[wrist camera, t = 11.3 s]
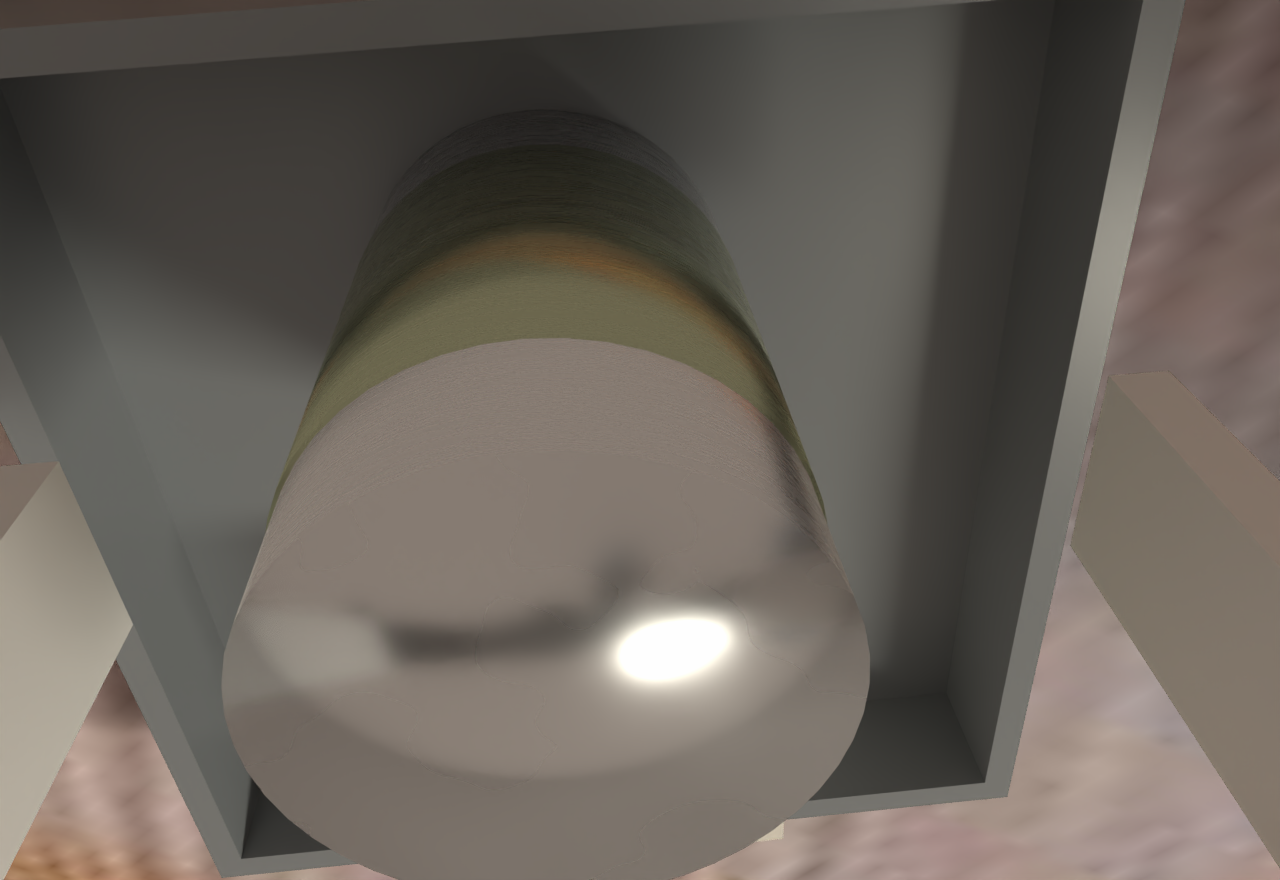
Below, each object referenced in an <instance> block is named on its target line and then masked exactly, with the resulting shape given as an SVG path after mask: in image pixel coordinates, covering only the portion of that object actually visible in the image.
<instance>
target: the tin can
mask: <svg viewBox="0 0 1280 880" xmlns="http://www.w3.org/2000/svg"><path fill="white" fill-rule="evenodd" d="M869 685H870V652H869V646H868V640H867V635H866V629H865V625H864V622H863V619H862V617H861V614H860V611H859V609H858V606H857V603H856V601H855V598H854V595H853V592H852V590H851V587H850V584H849V582H848V579H847V576H846V574H845V571H844V568H843V566H842V563H841V560H840V557H839V555H838V552H837V549H836V547H835V544H834V541H833V539H832V536H831V533H830V531H829V528H828V524H827V519H826V513H825V508H824V502H823V499H822V496H821V493H820V491H819V488H818V485H817V483H816V480H815V477H814V474H813V472H812V469H811V466H810V464H809V461H808V459H807V456H806V453H805V451H804V448H803V445H802V443H801V440H800V437H799V435H798V432H797V429H796V427H795V424H794V421H793V419H792V416H791V414H790V411H789V408H788V406H787V403H786V400H785V398H784V395H783V392H782V390H781V387H780V384H779V382H778V379H777V377H776V374H775V371H774V369H773V366H772V363H771V361H770V358H769V355H768V353H767V350H766V347H765V345H764V342H763V339H762V337H761V334H760V332H759V329H758V326H757V324H756V321H755V318H754V316H753V313H752V310H751V308H750V305H749V302H748V300H747V297H746V294H745V292H744V289H743V287H742V284H741V281H740V279H739V276H738V273H737V271H736V268H735V265H734V263H733V260H732V257H731V255H730V253H729V251H728V249H727V248H726V246H725V244H724V242H723V240H722V238H721V237H720V234H719V231H718V229H717V226H716V223H715V221H714V218H713V215H712V213H711V210H710V208H709V207H708V205H707V203H706V201H705V199H704V197H703V195H702V194H701V192H700V190H699V189H698V188H697V186H696V185H695V184H694V182H693V181H692V179H691V178H690V177H689V175H688V174H687V173H686V172H685V171H684V170H683V169H682V168H681V167H680V166H679V165H678V163H677V162H676V161H675V160H674V159H673V158H672V157H671V156H670V155H668V154H667V153H666V152H664V151H663V150H662V149H661V148H659V147H658V146H657V145H655V144H654V143H653V142H652V141H650V140H648V139H647V138H645V137H643V136H641V135H640V134H638V133H636V132H634V131H633V130H631V129H629V128H627V127H624V126H622V125H619V124H617V123H615V122H612V121H610V120H607V119H604V118H600V117H597V116H593V115H589V114H585V113H581V112H573V111H565V110H558V109H533V110H524V111H517V112H509V113H504V114H500V115H497V116H493V117H490V118H486V119H482V120H480V121H478V122H475V123H473V124H471V125H468V126H466V127H464V128H461V129H459V130H457V131H456V132H454V133H452V134H451V135H449V136H447V137H446V138H444V139H442V140H441V141H439V142H437V143H436V144H435V145H434V146H433V147H431V148H430V149H429V150H428V151H426V152H425V153H424V154H423V155H422V156H420V157H419V158H418V159H417V160H416V161H415V162H414V164H413V165H412V166H411V167H410V168H409V169H408V170H407V171H406V172H405V173H404V174H403V176H402V177H401V179H400V180H399V182H398V183H397V185H396V186H395V188H394V189H393V191H392V192H391V193H390V195H389V197H388V199H387V201H386V204H385V206H384V208H383V210H382V212H381V214H380V216H379V219H378V222H377V225H376V228H375V230H374V233H373V236H372V237H371V239H370V241H369V243H368V245H367V247H366V249H365V251H364V253H363V256H362V258H361V260H360V262H359V265H358V267H357V270H356V273H355V276H354V278H353V281H352V284H351V287H350V289H349V292H348V295H347V297H346V300H345V303H344V306H343V308H342V311H341V314H340V316H339V319H338V322H337V325H336V327H335V330H334V333H333V336H332V338H331V341H330V344H329V346H328V349H327V352H326V355H325V357H324V360H323V363H322V366H321V368H320V371H319V374H318V376H317V379H316V382H315V385H314V387H313V390H312V393H311V395H310V398H309V401H308V404H307V406H306V409H305V412H304V415H303V417H302V420H301V423H300V425H299V428H298V431H297V434H296V436H295V439H294V442H293V445H292V447H291V450H290V453H289V455H288V458H287V461H286V464H285V466H284V469H283V472H282V474H281V477H280V480H279V483H278V485H277V488H276V491H275V494H274V498H273V501H272V504H271V508H270V511H269V515H268V518H267V524H266V533H265V536H264V539H263V541H262V544H261V547H260V550H259V553H258V555H257V558H256V561H255V564H254V566H253V569H252V572H251V575H250V578H249V580H248V583H247V586H246V589H245V591H244V594H243V597H242V600H241V603H240V605H239V608H238V611H237V614H236V616H235V619H234V622H233V625H232V629H231V632H230V635H229V639H228V642H227V645H226V649H225V652H224V659H223V670H222V680H221V689H222V699H223V708H224V716H225V720H226V723H227V726H228V729H229V733H230V736H231V739H232V742H233V745H234V747H235V749H236V751H237V753H238V755H239V757H240V759H241V761H242V763H243V765H244V767H245V769H246V770H247V772H248V773H249V775H250V776H251V777H252V779H253V780H254V782H255V783H256V784H257V786H258V787H259V788H260V790H261V791H262V792H263V794H264V795H265V796H266V797H267V798H268V799H269V800H270V801H271V802H272V803H273V804H274V805H275V806H276V807H277V808H278V809H279V810H280V811H281V812H282V814H283V815H284V816H285V817H286V818H287V819H289V820H290V821H291V822H293V823H294V824H295V825H296V826H298V827H299V828H300V829H302V830H303V831H304V832H305V833H307V834H308V835H309V836H311V837H312V838H313V839H315V840H317V841H318V842H320V843H321V844H323V845H325V846H326V847H328V848H330V849H331V850H333V851H335V852H336V853H338V854H340V855H341V856H343V857H346V858H348V859H350V860H352V861H354V862H356V863H358V864H360V865H363V866H365V867H367V868H369V869H371V870H373V871H376V872H379V873H382V874H385V875H387V876H390V877H393V878H396V879H399V880H670V879H674V878H677V877H680V876H684V875H686V874H689V873H691V872H694V871H696V870H699V869H701V868H704V867H706V866H709V865H711V864H714V863H716V862H718V861H720V860H722V859H724V858H726V857H728V856H730V855H732V854H734V853H736V852H738V851H740V850H742V849H744V848H746V847H747V846H749V845H750V844H752V843H754V842H755V841H757V840H758V839H760V838H761V837H763V836H765V835H766V834H768V833H769V832H771V831H773V830H774V829H775V828H776V827H778V826H779V825H780V824H782V823H783V822H784V821H785V820H787V819H788V818H789V817H790V816H792V815H793V814H794V813H796V812H797V811H798V810H799V809H800V808H801V807H802V806H803V805H804V804H805V803H806V802H807V801H808V800H809V799H810V798H811V797H812V796H813V795H814V794H815V793H816V792H817V791H818V790H819V789H820V788H821V787H822V786H823V784H824V783H825V782H826V781H827V779H828V778H829V777H830V775H831V774H832V773H833V772H834V770H835V769H836V768H837V767H838V765H839V764H840V762H841V760H842V758H843V757H844V755H845V753H846V751H847V750H848V748H849V746H850V745H851V743H852V741H853V739H854V737H855V734H856V732H857V729H858V726H859V724H860V721H861V719H862V716H863V714H864V709H865V704H866V700H867V695H868V690H869Z"/></svg>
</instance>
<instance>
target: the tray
mask: <svg viewBox="0 0 1280 880" xmlns="http://www.w3.org/2000/svg"><path fill="white" fill-rule="evenodd" d="M1184 5H1185V0H0V422H1V424H2V426H3V428H4V430H5V432H6V434H7V436H8V438H9V440H10V442H11V444H12V446H13V449H14V451H15V453H16V455H17V457H18V459H19V461H20V463H21V464H32V463H44V462H56V461H59V463H60V465H61V468H62V470H63V472H64V474H65V476H66V479H67V481H68V483H69V485H70V487H71V489H72V492H73V494H74V496H75V498H76V500H77V503H78V505H79V507H80V509H81V511H82V514H83V516H84V518H85V520H86V522H87V525H88V527H89V529H90V531H91V533H92V536H93V538H94V540H95V542H96V544H97V547H98V549H99V551H100V553H101V555H102V558H103V560H104V562H105V564H106V566H107V569H108V571H109V573H110V575H111V577H112V579H113V582H114V584H115V586H116V588H117V590H118V593H119V595H120V597H121V599H122V601H123V604H124V606H125V608H126V610H127V612H128V615H129V617H130V619H131V621H132V623H133V626H132V628H131V630H130V632H129V634H128V636H127V638H126V639H125V641H124V643H123V645H122V647H121V649H120V651H119V653H118V655H117V657H116V661H117V663H118V665H119V667H120V669H121V671H122V673H123V675H124V677H125V679H126V681H127V683H128V685H129V688H130V690H131V692H132V694H133V696H134V698H135V700H136V702H137V704H138V706H139V708H140V710H141V712H142V714H143V716H144V718H145V721H146V723H147V725H148V727H149V729H150V731H151V733H152V735H153V737H154V739H155V741H156V743H157V745H158V747H159V749H160V751H161V753H162V756H163V758H164V760H165V762H166V764H167V766H168V768H169V770H170V772H171V774H172V776H173V778H174V780H175V782H176V784H177V786H178V789H179V791H180V793H181V795H182V797H183V799H184V801H185V803H186V805H187V807H188V809H189V811H190V813H191V815H192V817H193V819H194V821H195V824H196V826H197V828H198V830H199V832H200V834H201V836H202V838H203V840H204V842H205V844H206V846H207V848H208V850H209V852H210V854H211V857H212V859H213V861H214V863H215V865H216V867H217V869H218V871H219V873H220V875H221V877H222V878H224V877H234V876H244V875H253V874H263V873H273V872H282V871H292V870H302V869H312V868H321V867H331V866H341V865H350V864H358V863H356V862H354V861H352V860H350V859H348V858H346V857H343V856H341V855H340V854H338V853H336V852H335V851H333V850H331V849H330V848H328V847H326V846H325V845H323V844H321V843H320V842H318V841H317V840H315V839H313V838H312V837H311V836H309V835H308V834H307V833H305V832H304V831H303V830H302V829H300V828H299V827H298V826H296V825H295V824H294V823H293V822H291V821H290V820H289V819H287V818H286V817H285V816H284V815H283V814H282V812H281V811H280V810H279V809H278V808H277V807H276V806H275V805H274V804H273V803H272V802H271V801H270V800H269V799H268V798H267V797H266V796H265V795H264V794H263V792H262V791H261V790H260V788H259V787H258V786H257V784H256V783H255V782H254V780H253V779H252V777H251V776H250V775H249V773H248V772H247V770H246V769H245V767H244V765H243V763H242V761H241V759H240V757H239V755H238V753H237V751H236V749H235V747H234V745H233V742H232V739H231V736H230V733H229V729H228V726H227V723H226V720H225V716H224V708H223V699H222V689H221V680H222V670H223V659H224V652H225V649H226V645H227V642H228V639H229V635H230V632H231V629H232V625H233V622H234V619H235V616H236V614H237V611H238V608H239V605H240V603H241V600H242V597H243V594H244V591H245V589H246V586H247V583H248V580H249V578H250V575H251V572H252V569H253V566H254V564H255V561H256V558H257V555H258V553H259V550H260V547H261V544H262V541H263V539H264V536H265V533H266V524H267V518H268V515H269V511H270V508H271V504H272V501H273V498H274V494H275V491H276V488H277V485H278V483H279V480H280V477H281V474H282V472H283V469H284V466H285V464H286V461H287V458H288V455H289V453H290V450H291V447H292V445H293V442H294V439H295V436H296V434H297V431H298V428H299V425H300V423H301V420H302V417H303V415H304V412H305V409H306V406H307V404H308V401H309V398H310V395H311V393H312V390H313V387H314V385H315V382H316V379H317V376H318V374H319V371H320V368H321V366H322V363H323V360H324V357H325V355H326V352H327V349H328V346H329V344H330V341H331V338H332V336H333V333H334V330H335V327H336V325H337V322H338V319H339V316H340V314H341V311H342V308H343V306H344V303H345V300H346V297H347V295H348V292H349V289H350V287H351V284H352V281H353V278H354V276H355V273H356V270H357V267H358V265H359V262H360V260H361V258H362V256H363V253H364V251H365V249H366V247H367V245H368V243H369V241H370V239H371V237H372V236H373V233H374V230H375V228H376V225H377V222H378V219H379V216H380V214H381V212H382V210H383V208H384V206H385V204H386V201H387V199H388V197H389V195H390V193H391V192H392V191H393V189H394V188H395V186H396V185H397V183H398V182H399V180H400V179H401V177H402V176H403V174H404V173H405V172H406V171H407V170H408V169H409V168H410V167H411V166H412V165H413V164H414V162H415V161H416V160H417V159H418V158H419V157H420V156H422V155H423V154H424V153H425V152H426V151H428V150H429V149H430V148H431V147H433V146H434V145H435V144H436V143H437V142H439V141H441V140H442V139H444V138H446V137H447V136H449V135H451V134H452V133H454V132H456V131H457V130H459V129H461V128H464V127H466V126H468V125H471V124H473V123H475V122H478V121H480V120H482V119H486V118H490V117H493V116H497V115H500V114H504V113H509V112H517V111H524V110H533V109H558V110H565V111H573V112H581V113H585V114H589V115H593V116H597V117H600V118H604V119H607V120H610V121H612V122H615V123H617V124H619V125H622V126H624V127H627V128H629V129H631V130H633V131H634V132H636V133H638V134H640V135H641V136H643V137H645V138H647V139H648V140H650V141H652V142H653V143H654V144H655V145H657V146H658V147H659V148H661V149H662V150H663V151H664V152H666V153H667V154H668V155H670V156H671V157H672V158H673V159H674V160H675V161H676V162H677V163H678V165H679V166H680V167H681V168H682V169H683V170H684V171H685V172H686V173H687V174H688V175H689V177H690V178H691V179H692V181H693V182H694V184H695V185H696V186H697V188H698V189H699V190H700V192H701V194H702V195H703V197H704V199H705V201H706V203H707V205H708V207H709V208H710V210H711V213H712V215H713V218H714V221H715V223H716V226H717V229H718V231H719V234H720V237H721V238H722V240H723V242H724V244H725V246H726V248H727V249H728V251H729V253H730V255H731V257H732V260H733V263H734V265H735V268H736V271H737V273H738V276H739V279H740V281H741V284H742V287H743V289H744V292H745V294H746V297H747V300H748V302H749V305H750V308H751V310H752V313H753V316H754V318H755V321H756V324H757V326H758V329H759V332H760V334H761V337H762V339H763V342H764V345H765V347H766V350H767V353H768V355H769V358H770V361H771V363H772V366H773V369H774V371H775V374H776V377H777V379H778V382H779V384H780V387H781V390H782V392H783V395H784V398H785V400H786V403H787V406H788V408H789V411H790V414H791V416H792V419H793V421H794V424H795V427H796V429H797V432H798V435H799V437H800V440H801V443H802V445H803V448H804V451H805V453H806V456H807V459H808V461H809V464H810V466H811V469H812V472H813V474H814V477H815V480H816V483H817V485H818V488H819V491H820V493H821V496H822V499H823V502H824V508H825V513H826V519H827V524H828V528H829V531H830V533H831V536H832V539H833V541H834V544H835V547H836V549H837V552H838V555H839V557H840V560H841V563H842V566H843V568H844V571H845V574H846V576H847V579H848V582H849V584H850V587H851V590H852V592H853V595H854V598H855V601H856V603H857V606H858V609H859V611H860V614H861V617H862V619H863V622H864V625H865V629H866V635H867V640H868V646H869V652H870V685H869V690H868V695H867V700H866V704H865V709H864V714H863V716H862V719H861V721H860V724H859V726H858V729H857V732H856V734H855V737H854V739H853V741H852V743H851V745H850V746H849V748H848V750H847V751H846V753H845V755H844V757H843V758H842V760H841V762H840V764H839V765H838V767H837V768H836V769H835V770H834V772H833V773H832V774H831V775H830V777H829V778H828V779H827V781H826V782H825V783H824V784H823V786H822V787H821V788H820V789H819V790H818V791H817V792H816V793H815V794H814V795H813V796H812V797H811V798H810V799H809V800H808V801H807V802H806V803H805V804H804V805H803V806H802V807H801V808H800V809H799V810H798V811H797V812H796V813H794V814H793V815H792V816H790V817H789V818H788V819H797V818H806V817H816V816H826V815H836V814H845V813H855V812H865V811H874V810H884V809H894V808H904V807H913V806H923V805H933V804H942V803H952V802H962V801H971V800H981V799H991V798H1001V797H1007V796H1008V791H1009V787H1010V782H1011V778H1012V773H1013V769H1014V764H1015V760H1016V755H1017V751H1018V746H1019V742H1020V738H1021V733H1022V729H1023V724H1024V720H1025V715H1026V711H1027V706H1028V702H1029V697H1030V693H1031V688H1032V684H1033V679H1034V675H1035V671H1036V666H1037V662H1038V657H1039V653H1040V648H1041V644H1042V639H1043V635H1044V630H1045V626H1046V621H1047V617H1048V612H1049V608H1050V604H1051V599H1052V595H1053V590H1054V586H1055V581H1056V577H1057V572H1058V568H1059V563H1060V559H1061V554H1062V550H1063V545H1064V541H1065V537H1066V532H1067V528H1068V523H1069V519H1070V514H1071V510H1072V505H1073V501H1074V496H1075V492H1076V487H1077V483H1078V478H1079V474H1080V469H1081V465H1082V461H1083V456H1084V452H1085V447H1086V443H1087V438H1088V434H1089V429H1090V425H1091V420H1092V416H1093V411H1094V407H1095V402H1096V398H1097V394H1098V389H1099V385H1100V380H1101V376H1102V371H1103V367H1104V362H1105V358H1106V353H1107V349H1108V344H1109V340H1110V335H1111V331H1112V327H1113V322H1114V318H1115V313H1116V309H1117V304H1118V300H1119V295H1120V291H1121V286H1122V282H1123V277H1124V273H1125V268H1126V264H1127V260H1128V255H1129V251H1130V246H1131V242H1132V237H1133V233H1134V228H1135V224H1136V219H1137V215H1138V210H1139V206H1140V201H1141V197H1142V193H1143V188H1144V184H1145V179H1146V175H1147V170H1148V166H1149V161H1150V157H1151V152H1152V148H1153V143H1154V139H1155V134H1156V130H1157V126H1158V121H1159V117H1160V112H1161V108H1162V103H1163V99H1164V94H1165V90H1166V85H1167V81H1168V76H1169V72H1170V67H1171V63H1172V59H1173V54H1174V50H1175V45H1176V41H1177V36H1178V32H1179V27H1180V23H1181V18H1182V14H1183V9H1184Z"/></svg>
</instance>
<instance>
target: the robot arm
mask: <svg viewBox="0 0 1280 880" xmlns="http://www.w3.org/2000/svg"><path fill="white" fill-rule="evenodd" d="M1070 546H1071V547H1072V549H1073V550H1074V552H1075V553H1076V555H1077V556H1078V558H1079V559H1080V561H1081V562H1082V564H1083V566H1084V567H1085V569H1086V570H1087V572H1088V573H1089V575H1090V576H1091V578H1092V579H1093V581H1094V583H1095V584H1096V586H1097V587H1098V589H1099V590H1100V592H1101V593H1102V595H1103V596H1104V598H1105V600H1106V601H1107V603H1108V604H1109V606H1110V607H1111V609H1112V610H1113V612H1114V613H1115V615H1116V616H1117V618H1118V620H1119V621H1120V623H1121V624H1122V626H1123V627H1124V629H1125V630H1126V632H1127V633H1128V635H1129V637H1130V638H1131V640H1132V641H1133V643H1134V644H1135V646H1136V647H1137V649H1138V650H1139V652H1140V653H1141V655H1142V657H1143V658H1144V660H1145V661H1146V663H1147V664H1148V666H1149V667H1150V669H1151V670H1152V672H1153V674H1154V675H1155V677H1156V678H1157V680H1158V681H1159V683H1160V684H1161V686H1162V687H1163V689H1164V690H1165V692H1166V694H1167V695H1168V697H1169V698H1170V700H1171V701H1172V703H1173V704H1174V706H1175V707H1176V709H1177V711H1178V712H1179V714H1180V715H1181V717H1182V718H1183V720H1184V721H1185V723H1186V724H1187V726H1188V727H1189V729H1190V731H1191V732H1192V734H1193V735H1194V737H1195V738H1196V740H1197V741H1198V743H1199V744H1200V746H1201V748H1202V749H1203V751H1204V752H1205V754H1206V755H1207V757H1208V758H1209V760H1210V761H1211V763H1212V764H1213V766H1214V768H1215V769H1216V771H1217V772H1218V774H1219V775H1220V777H1221V778H1222V780H1223V781H1224V783H1225V785H1226V786H1227V788H1228V789H1229V791H1230V792H1231V794H1232V795H1233V797H1234V798H1235V800H1236V801H1237V803H1238V805H1239V806H1240V808H1241V809H1242V811H1243V812H1244V814H1245V815H1246V817H1247V818H1248V820H1249V822H1250V823H1251V825H1252V826H1253V828H1254V829H1255V831H1256V832H1257V834H1258V835H1259V837H1260V838H1261V840H1262V842H1263V843H1264V845H1265V846H1266V848H1267V849H1268V851H1269V852H1270V854H1271V855H1272V857H1273V859H1274V860H1275V862H1276V863H1277V865H1278V866H1279V868H1280V481H1279V480H1278V479H1277V478H1276V477H1275V476H1274V475H1273V474H1272V473H1271V472H1270V471H1269V470H1268V469H1267V468H1266V467H1265V466H1264V465H1263V464H1262V463H1261V462H1260V461H1259V460H1258V459H1257V458H1256V457H1255V456H1254V455H1253V454H1252V453H1251V452H1250V451H1249V450H1248V449H1247V448H1246V447H1245V446H1244V445H1243V444H1242V443H1241V442H1240V441H1239V440H1238V439H1237V438H1236V437H1235V436H1234V435H1233V434H1232V433H1231V432H1230V431H1229V430H1228V429H1227V428H1226V427H1225V426H1224V425H1223V424H1222V423H1221V422H1220V421H1219V420H1218V419H1217V418H1216V417H1215V416H1214V415H1213V414H1212V413H1211V412H1210V411H1209V410H1208V409H1207V408H1206V407H1205V406H1204V405H1203V404H1202V403H1201V402H1200V401H1199V400H1198V399H1197V398H1196V397H1195V396H1194V395H1193V394H1192V393H1191V392H1190V391H1189V390H1188V389H1187V388H1186V387H1185V386H1184V385H1183V384H1182V383H1181V382H1180V381H1179V380H1178V379H1177V378H1176V377H1175V376H1174V375H1173V374H1172V373H1171V372H1170V371H1160V372H1147V373H1135V374H1123V375H1111V376H1109V377H1108V381H1107V386H1106V390H1105V395H1104V399H1103V403H1102V408H1101V412H1100V417H1099V421H1098V426H1097V430H1096V434H1095V439H1094V443H1093V448H1092V452H1091V457H1090V461H1089V465H1088V470H1087V474H1086V479H1085V483H1084V488H1083V492H1082V496H1081V501H1080V505H1079V510H1078V514H1077V519H1076V523H1075V528H1074V532H1073V536H1072V541H1071V545H1070ZM132 626H133V623H132V621H131V619H130V617H129V615H128V612H127V610H126V608H125V606H124V604H123V601H122V599H121V597H120V595H119V593H118V590H117V588H116V586H115V584H114V582H113V579H112V577H111V575H110V573H109V571H108V569H107V566H106V564H105V562H104V560H103V558H102V555H101V553H100V551H99V549H98V547H97V544H96V542H95V540H94V538H93V536H92V533H91V531H90V529H89V527H88V525H87V522H86V520H85V518H84V516H83V514H82V511H81V509H80V507H79V505H78V503H77V500H76V498H75V496H74V494H73V492H72V489H71V487H70V485H69V483H68V481H67V479H66V476H65V474H64V472H63V470H62V468H61V465H60V463H59V461H56V462H44V463H32V464H19V465H7V466H0V880H4V878H5V876H6V874H7V872H8V870H9V868H10V866H11V864H12V862H13V860H14V858H15V856H16V854H17V852H18V850H19V848H20V846H21V844H22V842H23V840H24V838H25V836H26V834H27V832H28V830H29V828H30V827H31V825H32V823H33V821H34V819H35V817H36V815H37V813H38V811H39V809H40V807H41V805H42V803H43V801H44V799H45V797H46V795H47V793H48V791H49V789H50V787H51V785H52V783H53V781H54V779H55V777H56V775H57V773H58V771H59V769H60V767H61V765H62V764H63V762H64V760H65V758H66V756H67V754H68V752H69V750H70V748H71V746H72V744H73V742H74V740H75V738H76V736H77V734H78V732H79V730H80V728H81V726H82V724H83V722H84V720H85V718H86V716H87V714H88V712H89V710H90V708H91V706H92V704H93V702H94V701H95V699H96V697H97V695H98V693H99V691H100V689H101V687H102V685H103V683H104V681H105V679H106V677H107V675H108V673H109V671H110V669H111V667H112V665H113V663H114V661H115V659H116V657H117V655H118V653H119V651H120V649H121V647H122V645H123V643H124V641H125V639H126V638H127V636H128V634H129V632H130V630H131V628H132Z"/></svg>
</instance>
